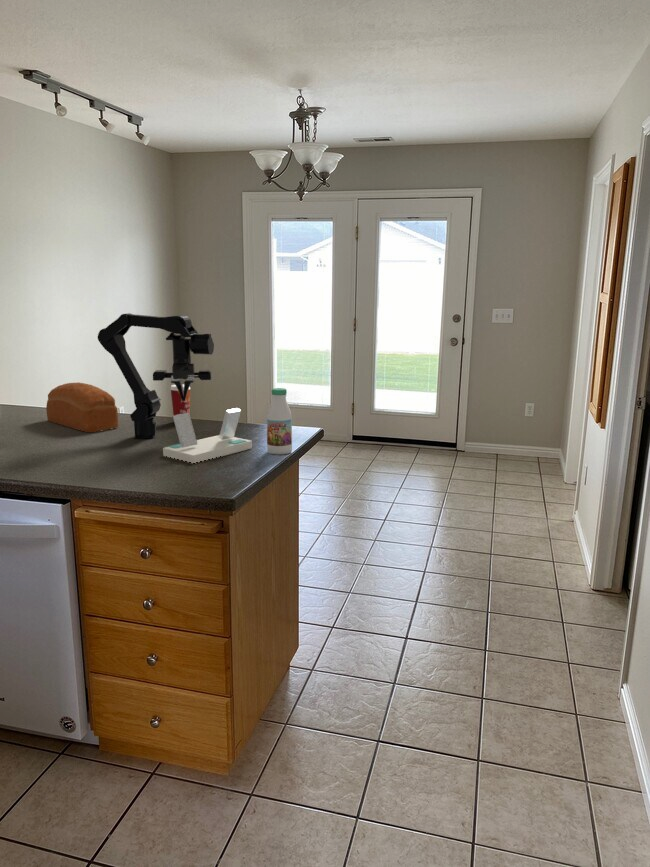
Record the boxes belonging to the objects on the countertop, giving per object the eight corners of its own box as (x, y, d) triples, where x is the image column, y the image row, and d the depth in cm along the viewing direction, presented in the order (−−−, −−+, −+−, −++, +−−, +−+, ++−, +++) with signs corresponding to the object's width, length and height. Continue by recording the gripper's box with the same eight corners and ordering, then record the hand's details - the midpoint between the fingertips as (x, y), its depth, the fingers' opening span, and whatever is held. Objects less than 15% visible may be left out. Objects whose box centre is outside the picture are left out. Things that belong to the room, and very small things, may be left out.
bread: (87, 434, 227) (83, 390, 224) (44, 421, 249) (40, 380, 246) (122, 428, 237) (120, 385, 234) (78, 416, 259) (75, 377, 255)
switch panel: (163, 455, 199) (162, 446, 198) (222, 441, 217) (221, 433, 217) (193, 463, 190) (193, 454, 190) (252, 448, 209) (251, 439, 208)
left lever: (181, 448, 196) (172, 416, 196) (194, 445, 200) (185, 413, 200) (184, 447, 195) (175, 414, 195) (197, 444, 199) (189, 412, 199)
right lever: (218, 437, 207) (226, 410, 203) (230, 434, 211) (237, 408, 207) (222, 440, 207) (229, 412, 202) (233, 437, 210) (241, 410, 206)
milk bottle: (267, 449, 208) (266, 387, 203) (291, 448, 208) (291, 386, 204) (267, 455, 200) (266, 390, 196) (292, 455, 201) (292, 390, 196)
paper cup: (187, 424, 244) (185, 387, 240) (168, 423, 245) (166, 386, 242) (195, 420, 251) (194, 384, 248) (176, 419, 252) (175, 383, 249)
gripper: (149, 356, 206) (151, 405, 210) (209, 356, 208) (210, 404, 212) (154, 353, 217) (156, 399, 220) (211, 352, 219) (212, 398, 222)
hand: (183, 400), depth 218 cm, fingers closed
